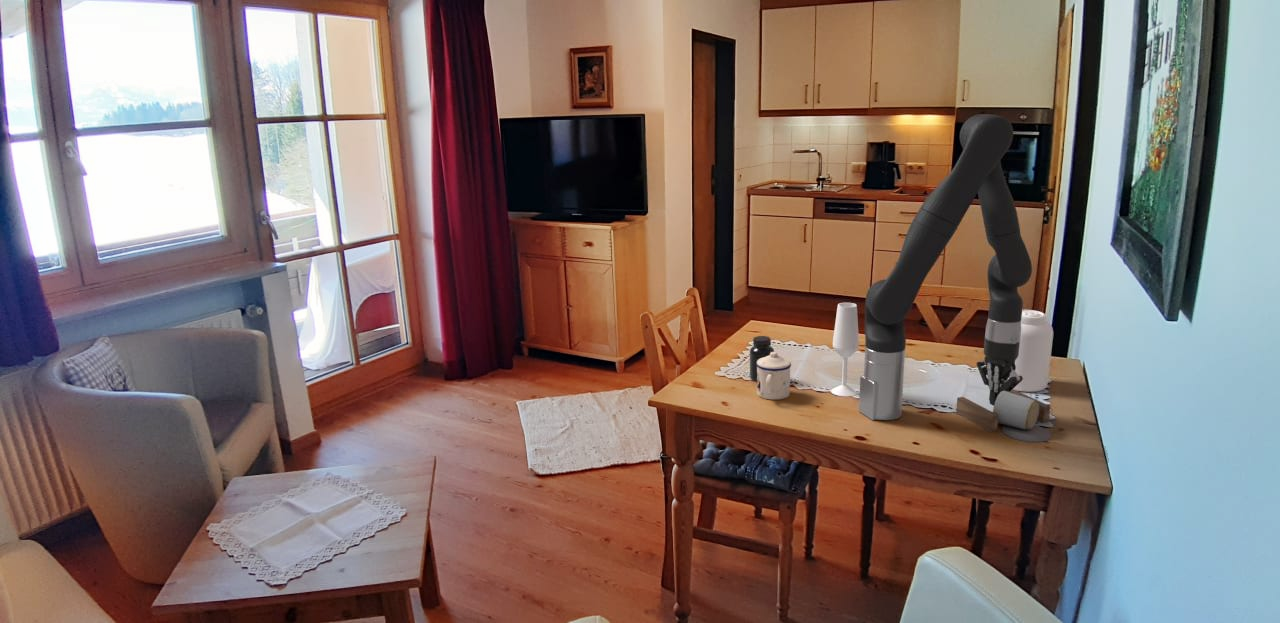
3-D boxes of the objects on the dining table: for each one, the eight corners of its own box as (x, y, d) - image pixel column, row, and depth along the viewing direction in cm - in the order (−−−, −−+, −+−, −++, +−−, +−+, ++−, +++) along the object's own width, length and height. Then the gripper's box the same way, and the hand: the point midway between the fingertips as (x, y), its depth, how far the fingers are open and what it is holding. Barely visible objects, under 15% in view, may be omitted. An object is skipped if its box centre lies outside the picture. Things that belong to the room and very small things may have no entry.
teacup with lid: (759, 386, 204) (760, 346, 201) (793, 389, 201) (793, 348, 198) (750, 402, 194) (750, 360, 191) (785, 406, 190) (786, 363, 187)
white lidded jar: (1053, 382, 199) (1061, 311, 194) (1038, 396, 190) (1047, 321, 185) (1004, 373, 208) (1010, 303, 202) (987, 385, 199) (994, 313, 194)
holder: (990, 432, 171) (992, 416, 170) (956, 412, 183) (957, 397, 182) (1048, 422, 175) (1050, 406, 174) (1011, 403, 187) (1012, 388, 186)
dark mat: (1024, 444, 164) (1024, 444, 164) (992, 427, 174) (992, 426, 174) (1061, 438, 167) (1061, 437, 167) (1027, 421, 176) (1027, 420, 176)
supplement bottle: (748, 374, 214) (748, 334, 211) (772, 374, 213) (772, 334, 210) (750, 383, 207) (751, 342, 204) (775, 382, 207) (776, 341, 204)
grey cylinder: (1028, 435, 168) (1031, 403, 166) (990, 425, 174) (993, 395, 172) (1043, 421, 176) (1046, 391, 174) (1006, 412, 181) (1010, 383, 179)
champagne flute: (843, 385, 203) (846, 300, 197) (862, 392, 197) (866, 305, 191) (825, 390, 200) (828, 304, 193) (844, 398, 194) (848, 309, 188)
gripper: (969, 331, 181) (963, 397, 186) (1010, 347, 169) (1002, 417, 173) (995, 327, 183) (988, 393, 188) (1037, 343, 171) (1028, 413, 176)
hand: (995, 404), depth 181 cm, fingers closed
